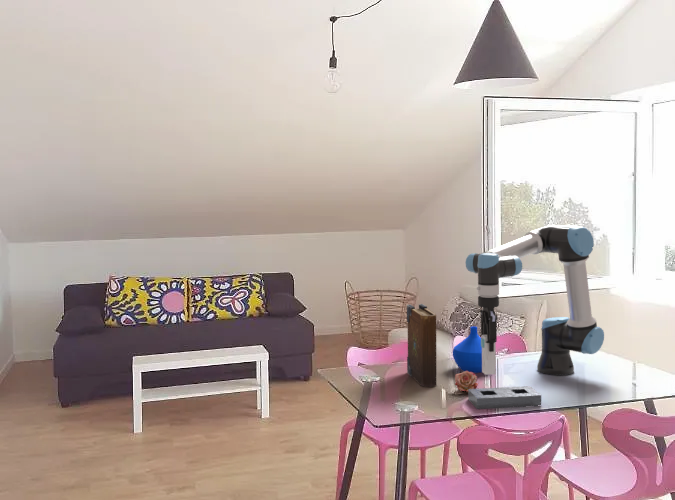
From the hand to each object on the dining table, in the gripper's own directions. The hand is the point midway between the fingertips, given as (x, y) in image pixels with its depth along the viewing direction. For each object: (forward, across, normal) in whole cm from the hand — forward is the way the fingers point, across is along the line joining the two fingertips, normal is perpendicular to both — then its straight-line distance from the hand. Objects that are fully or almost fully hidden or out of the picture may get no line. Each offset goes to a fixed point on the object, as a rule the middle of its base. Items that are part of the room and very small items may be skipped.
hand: (488, 358), depth 276 cm
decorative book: (+18, -37, -17) cm, 44 cm away
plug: (+6, 0, 0) cm, 6 cm away
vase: (+18, -48, +8) cm, 52 cm away
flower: (+18, -16, -4) cm, 24 cm away
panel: (+18, 0, +6) cm, 19 cm away
